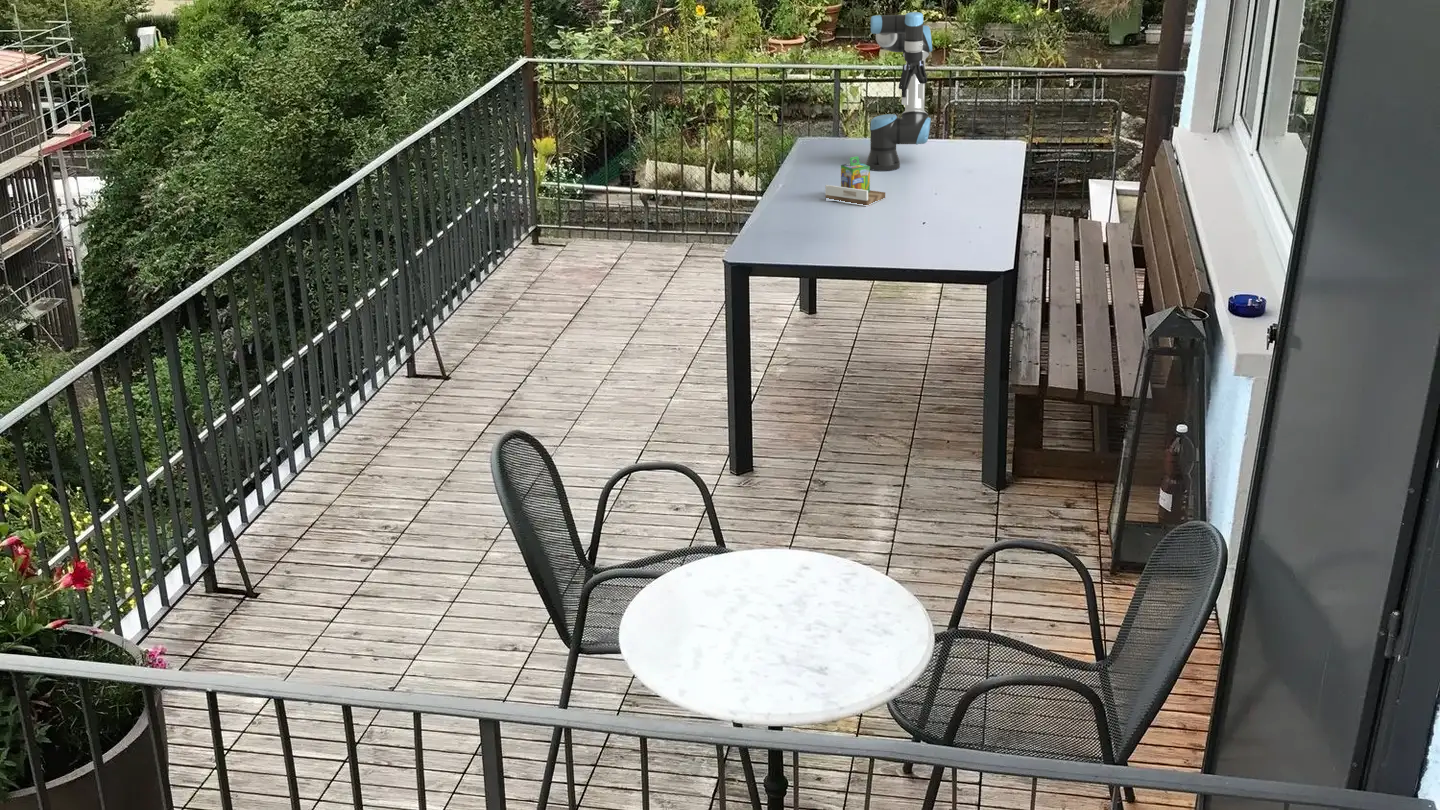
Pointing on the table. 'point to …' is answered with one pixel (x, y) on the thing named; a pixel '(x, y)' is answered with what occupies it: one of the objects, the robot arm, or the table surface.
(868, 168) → the chalk box
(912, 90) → the robot arm
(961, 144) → the table surface
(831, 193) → the shelf board
